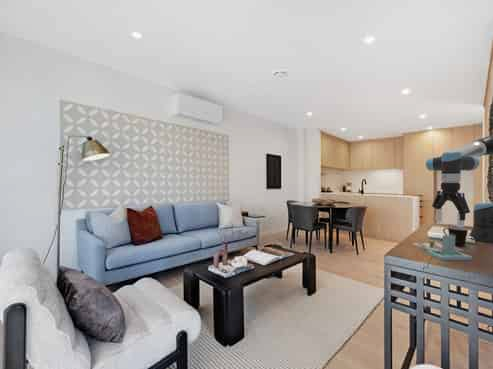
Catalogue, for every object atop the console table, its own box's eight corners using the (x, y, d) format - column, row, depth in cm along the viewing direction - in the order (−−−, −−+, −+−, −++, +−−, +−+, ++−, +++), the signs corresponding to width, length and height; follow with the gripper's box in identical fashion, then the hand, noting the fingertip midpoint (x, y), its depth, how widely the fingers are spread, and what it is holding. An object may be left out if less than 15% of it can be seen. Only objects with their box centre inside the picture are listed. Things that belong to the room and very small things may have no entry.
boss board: (443, 244, 142) (443, 237, 142) (464, 252, 128) (464, 244, 128) (412, 244, 143) (413, 237, 142) (430, 252, 129) (430, 245, 128)
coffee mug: (471, 247, 135) (471, 230, 135) (453, 247, 137) (454, 229, 137) (457, 241, 147) (458, 225, 146) (441, 241, 149) (441, 225, 148)
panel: (454, 252, 128) (455, 233, 127) (472, 259, 118) (472, 238, 117) (426, 253, 128) (426, 233, 128) (441, 259, 118) (441, 238, 118)
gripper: (425, 181, 134) (423, 219, 135) (464, 183, 109) (462, 229, 110) (438, 181, 133) (437, 219, 134) (481, 183, 108) (479, 229, 109)
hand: (448, 223), depth 122 cm, fingers open, 13 cm apart
